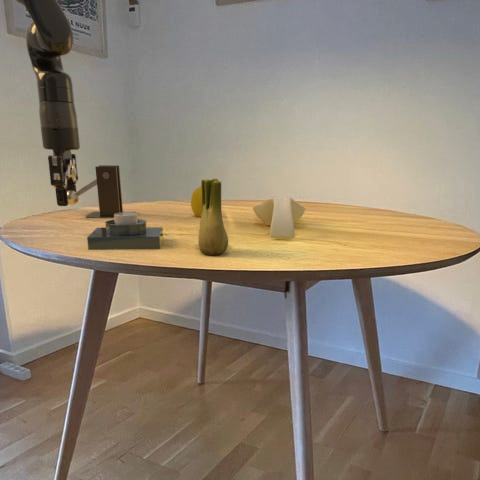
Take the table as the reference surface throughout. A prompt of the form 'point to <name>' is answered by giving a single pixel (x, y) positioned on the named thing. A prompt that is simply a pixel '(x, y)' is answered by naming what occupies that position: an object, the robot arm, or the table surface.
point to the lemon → (197, 201)
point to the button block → (125, 236)
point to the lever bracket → (108, 191)
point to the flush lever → (79, 193)
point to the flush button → (125, 218)
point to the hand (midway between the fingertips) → (67, 203)
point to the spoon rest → (280, 216)
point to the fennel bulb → (212, 220)
